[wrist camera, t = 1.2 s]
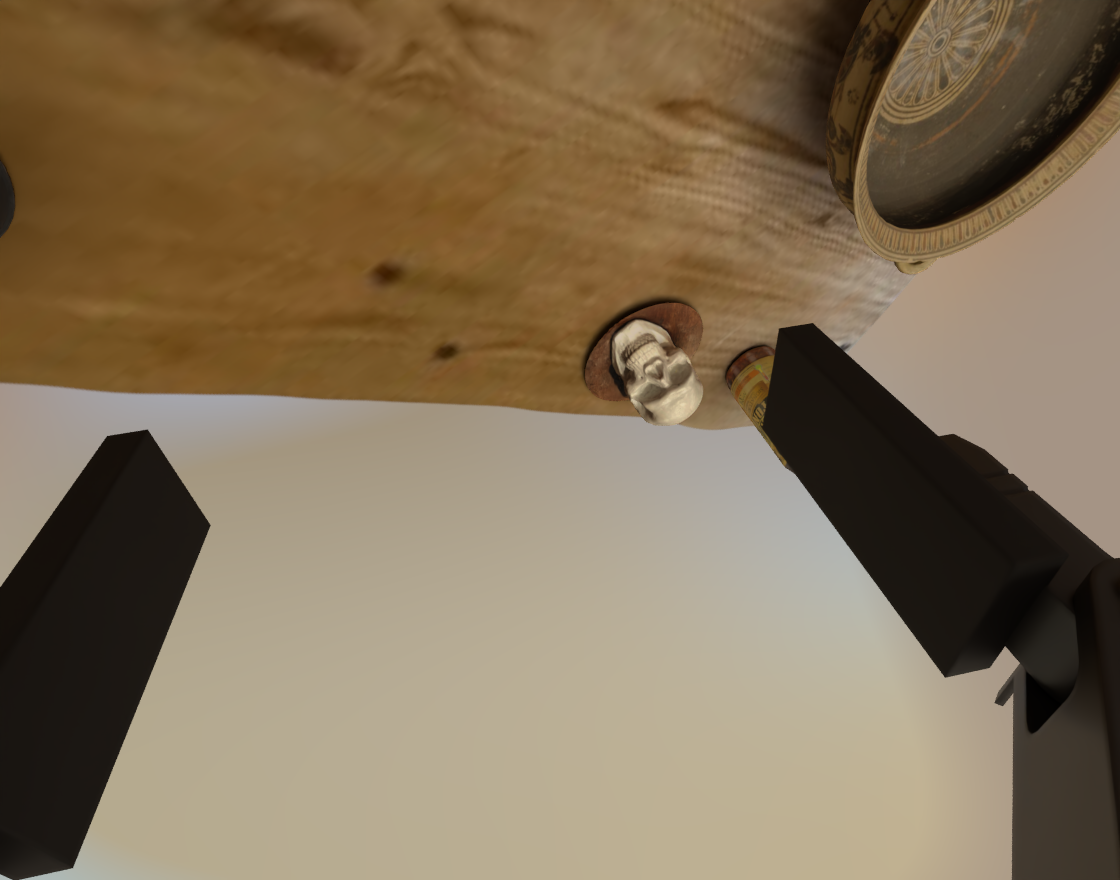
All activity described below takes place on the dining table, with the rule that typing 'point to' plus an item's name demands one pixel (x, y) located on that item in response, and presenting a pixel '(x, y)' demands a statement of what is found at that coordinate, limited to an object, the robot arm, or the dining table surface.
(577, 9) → the dining table surface
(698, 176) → the dining table surface
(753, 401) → the sauce bottle
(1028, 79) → the ceramic bowl
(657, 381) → the skull
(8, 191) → the milk frother
